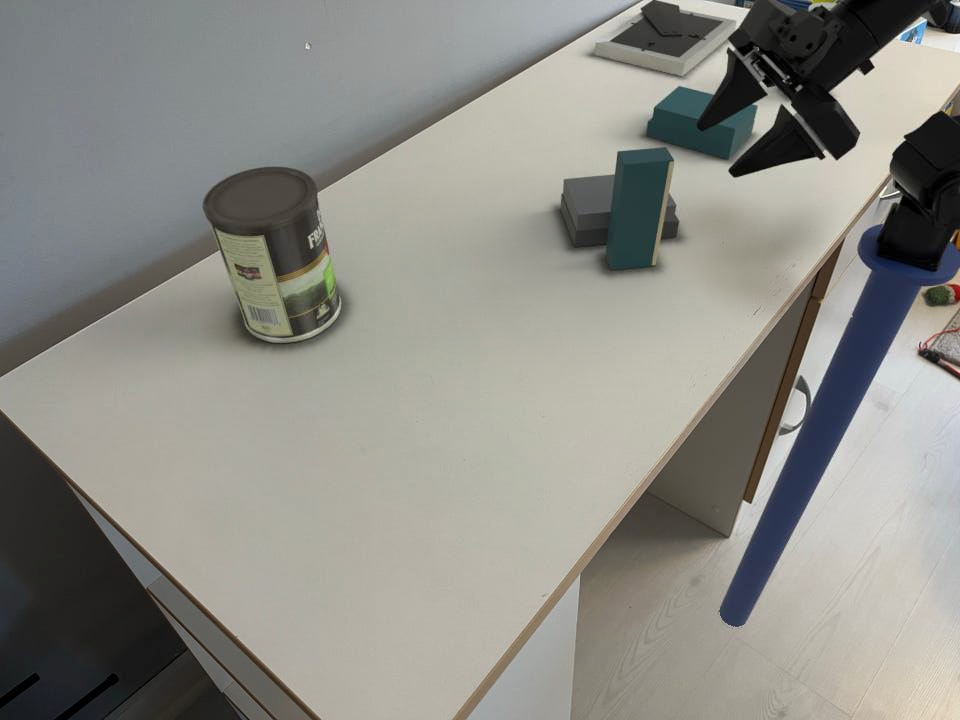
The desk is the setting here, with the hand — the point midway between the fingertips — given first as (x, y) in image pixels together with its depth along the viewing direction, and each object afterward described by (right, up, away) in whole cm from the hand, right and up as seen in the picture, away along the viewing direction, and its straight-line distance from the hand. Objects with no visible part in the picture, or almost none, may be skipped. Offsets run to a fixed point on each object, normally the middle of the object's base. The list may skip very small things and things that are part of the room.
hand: (713, 150), depth 71 cm
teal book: (-7, -10, +9) cm, 15 cm away
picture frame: (+8, +33, +51) cm, 61 cm away
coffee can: (-43, -16, +5) cm, 46 cm away
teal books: (+7, +10, +28) cm, 31 cm away
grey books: (-7, -5, +14) cm, 16 cm away
